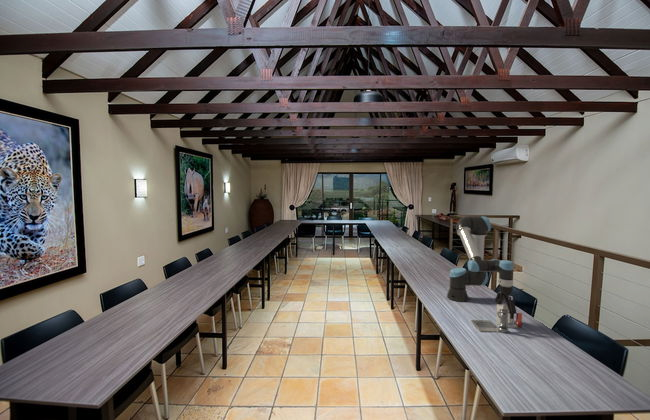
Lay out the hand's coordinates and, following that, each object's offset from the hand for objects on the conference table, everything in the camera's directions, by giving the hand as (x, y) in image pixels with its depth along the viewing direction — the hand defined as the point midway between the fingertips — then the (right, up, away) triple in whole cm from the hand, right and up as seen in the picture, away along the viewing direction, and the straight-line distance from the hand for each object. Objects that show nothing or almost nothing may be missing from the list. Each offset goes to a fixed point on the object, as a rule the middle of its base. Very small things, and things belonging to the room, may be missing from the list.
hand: (504, 318), depth 186 cm
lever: (0, -2, -9) cm, 9 cm away
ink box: (0, -4, 0) cm, 4 cm away
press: (-12, -4, -4) cm, 13 cm away
